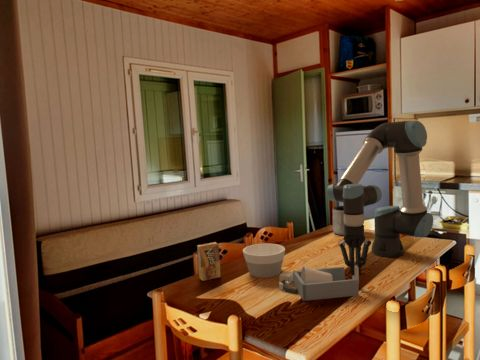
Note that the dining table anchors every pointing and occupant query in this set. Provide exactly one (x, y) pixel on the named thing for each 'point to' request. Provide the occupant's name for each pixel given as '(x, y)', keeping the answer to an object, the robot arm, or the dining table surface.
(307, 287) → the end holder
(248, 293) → the dining table surface
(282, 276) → the clamp and clip
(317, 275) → the cup
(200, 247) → the candy box
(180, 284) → the dining table surface
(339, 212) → the planter
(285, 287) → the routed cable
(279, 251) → the bowl
